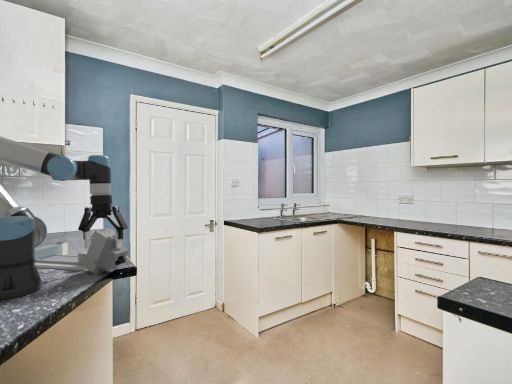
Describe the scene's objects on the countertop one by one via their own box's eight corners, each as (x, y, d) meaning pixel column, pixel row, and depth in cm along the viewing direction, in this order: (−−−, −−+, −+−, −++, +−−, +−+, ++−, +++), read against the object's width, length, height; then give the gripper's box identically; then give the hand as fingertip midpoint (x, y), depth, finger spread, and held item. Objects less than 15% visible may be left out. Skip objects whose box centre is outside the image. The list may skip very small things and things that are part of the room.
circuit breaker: (108, 282, 105) (123, 247, 104) (79, 264, 108) (93, 230, 107) (121, 276, 113) (136, 243, 111) (94, 259, 115) (108, 227, 114)
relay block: (62, 256, 135) (62, 242, 135) (53, 256, 134) (53, 242, 134) (67, 254, 140) (67, 240, 140) (58, 254, 139) (58, 241, 139)
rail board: (84, 270, 112) (84, 254, 112) (19, 266, 118) (19, 251, 118) (112, 260, 127) (112, 246, 127) (53, 257, 133) (53, 244, 133)
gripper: (135, 193, 111) (137, 245, 112) (81, 195, 116) (83, 246, 116) (122, 193, 104) (125, 249, 104) (66, 196, 109) (68, 249, 109)
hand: (103, 248), depth 110 cm, fingers open, 13 cm apart
